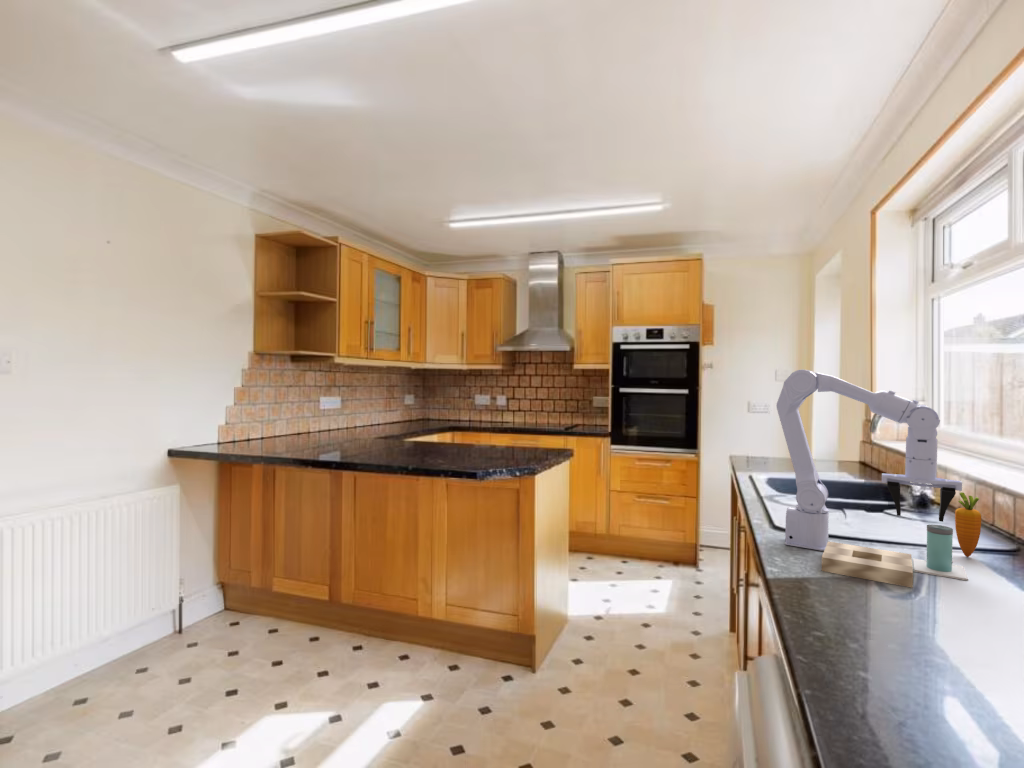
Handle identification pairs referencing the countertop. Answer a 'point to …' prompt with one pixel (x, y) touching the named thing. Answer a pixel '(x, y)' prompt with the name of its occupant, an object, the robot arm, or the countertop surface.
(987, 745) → the countertop surface
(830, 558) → the tan board with hole
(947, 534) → the plug
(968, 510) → the carrot
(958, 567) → the mat
